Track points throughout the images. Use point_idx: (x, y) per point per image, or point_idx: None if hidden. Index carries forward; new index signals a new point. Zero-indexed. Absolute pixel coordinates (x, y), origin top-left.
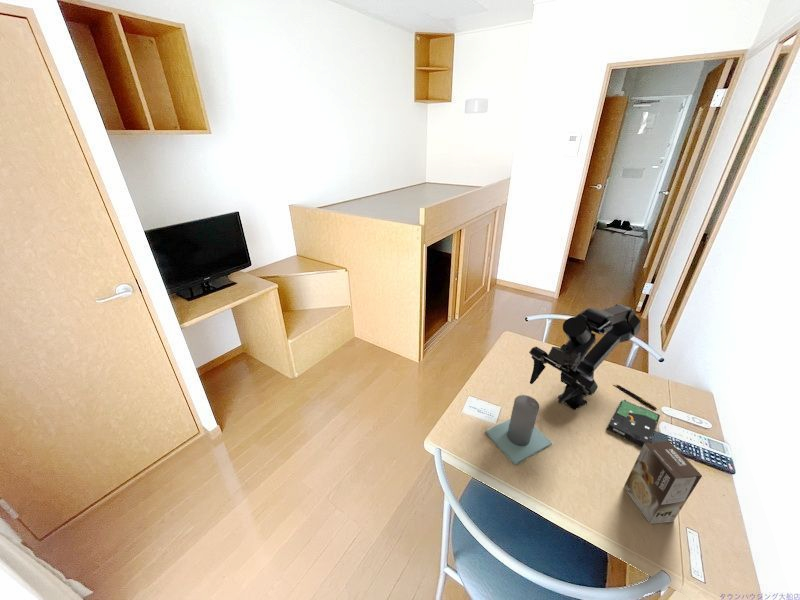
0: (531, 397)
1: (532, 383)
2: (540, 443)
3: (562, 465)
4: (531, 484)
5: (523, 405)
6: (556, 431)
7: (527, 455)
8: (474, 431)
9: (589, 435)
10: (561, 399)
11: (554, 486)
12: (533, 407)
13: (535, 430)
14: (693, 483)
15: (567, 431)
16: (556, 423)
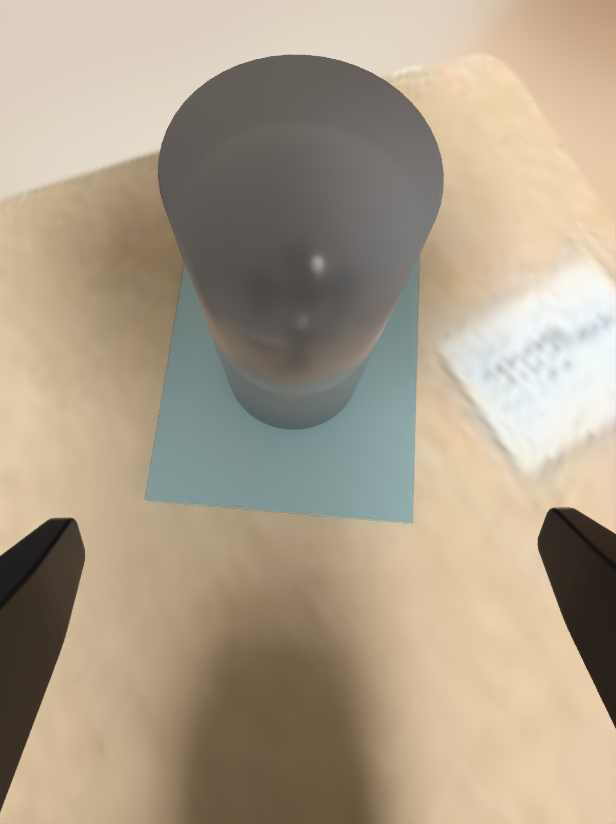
0: (342, 285)
1: (543, 555)
2: (187, 433)
3: (34, 431)
4: (82, 222)
5: (304, 118)
6: (191, 623)
7: (182, 308)
8: (449, 222)
9: (23, 815)
10: (19, 551)
11: (2, 296)
12: (219, 179)
13: (267, 490)
14: None
15: (144, 695)
16: (232, 690)
